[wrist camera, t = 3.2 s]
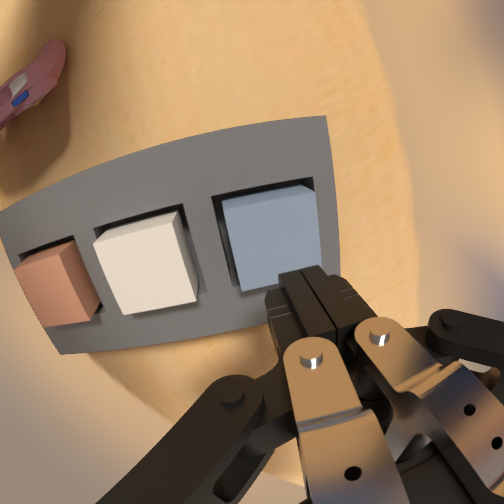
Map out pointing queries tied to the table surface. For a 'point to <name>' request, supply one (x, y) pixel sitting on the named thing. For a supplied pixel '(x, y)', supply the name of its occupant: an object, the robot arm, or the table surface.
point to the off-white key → (148, 263)
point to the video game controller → (32, 82)
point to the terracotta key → (58, 285)
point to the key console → (193, 220)
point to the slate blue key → (272, 233)
